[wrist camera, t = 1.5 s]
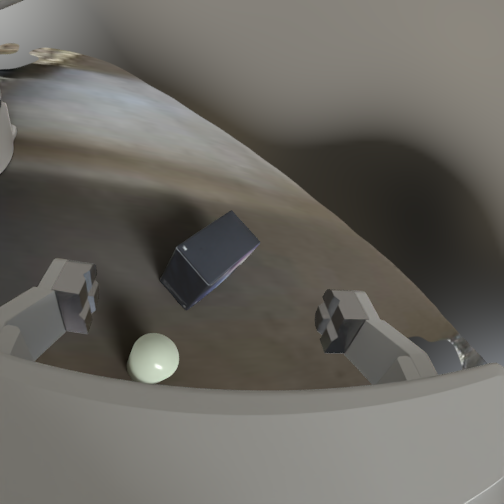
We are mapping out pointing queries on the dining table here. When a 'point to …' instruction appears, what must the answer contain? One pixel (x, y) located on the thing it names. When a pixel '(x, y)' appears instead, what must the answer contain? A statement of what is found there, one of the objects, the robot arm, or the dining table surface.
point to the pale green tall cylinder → (152, 359)
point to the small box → (208, 259)
